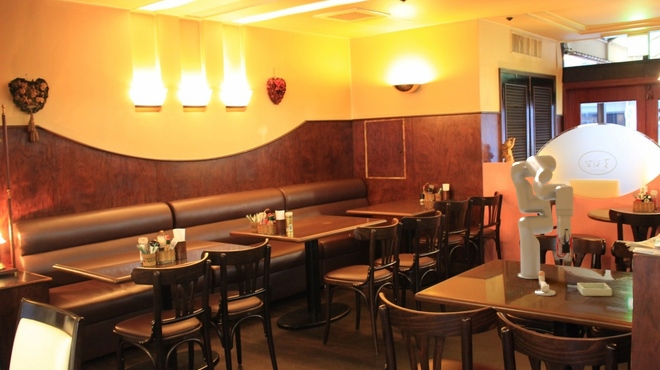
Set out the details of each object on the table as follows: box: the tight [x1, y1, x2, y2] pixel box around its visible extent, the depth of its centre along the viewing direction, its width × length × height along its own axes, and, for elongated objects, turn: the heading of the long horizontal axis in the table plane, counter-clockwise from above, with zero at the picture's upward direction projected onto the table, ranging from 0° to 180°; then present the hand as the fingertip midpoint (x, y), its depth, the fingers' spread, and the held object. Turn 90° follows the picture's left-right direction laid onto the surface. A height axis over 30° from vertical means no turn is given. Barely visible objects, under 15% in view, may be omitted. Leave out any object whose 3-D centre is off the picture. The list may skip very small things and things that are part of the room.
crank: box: [538, 270, 550, 292], centre depth 299 cm, size 4×13×7 cm, turn 170°
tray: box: [576, 282, 613, 297], centre depth 293 cm, size 12×12×3 cm
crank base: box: [534, 288, 556, 297], centre depth 294 cm, size 9×9×1 cm
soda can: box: [555, 233, 574, 260], centre depth 291 cm, size 7×7×12 cm
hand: (564, 250), depth 292 cm, fingers closed on soda can, 6 cm apart
